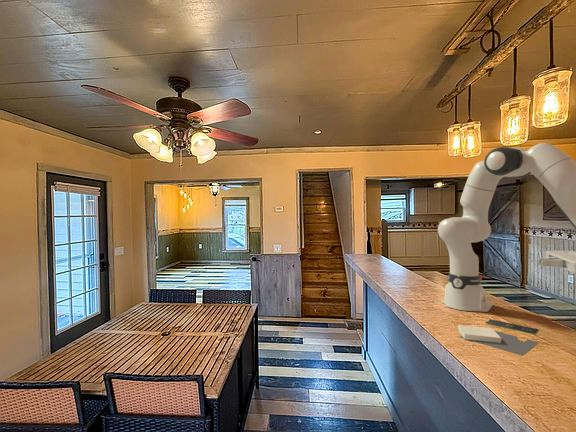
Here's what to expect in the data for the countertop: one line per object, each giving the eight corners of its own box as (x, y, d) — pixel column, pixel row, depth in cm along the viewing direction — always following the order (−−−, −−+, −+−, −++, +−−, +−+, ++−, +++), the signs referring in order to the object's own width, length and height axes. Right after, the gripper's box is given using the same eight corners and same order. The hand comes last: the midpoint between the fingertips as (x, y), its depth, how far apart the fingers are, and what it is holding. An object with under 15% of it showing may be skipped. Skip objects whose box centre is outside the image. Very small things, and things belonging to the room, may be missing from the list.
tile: (491, 328, 106) (458, 324, 109) (501, 337, 98) (464, 334, 100) (491, 333, 106) (458, 330, 109) (501, 343, 98) (464, 339, 100)
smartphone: (490, 318, 122) (539, 329, 111) (490, 321, 122) (539, 332, 111) (484, 323, 117) (535, 334, 106) (484, 325, 117) (535, 337, 106)
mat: (479, 328, 113) (479, 327, 113) (539, 343, 99) (539, 342, 99) (459, 338, 103) (459, 337, 103) (522, 357, 89) (522, 355, 89)
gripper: (577, 244, 104) (526, 247, 109) (617, 255, 85) (554, 258, 90) (578, 264, 105) (528, 265, 109) (619, 279, 85) (555, 280, 90)
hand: (540, 262), depth 99 cm, fingers closed
